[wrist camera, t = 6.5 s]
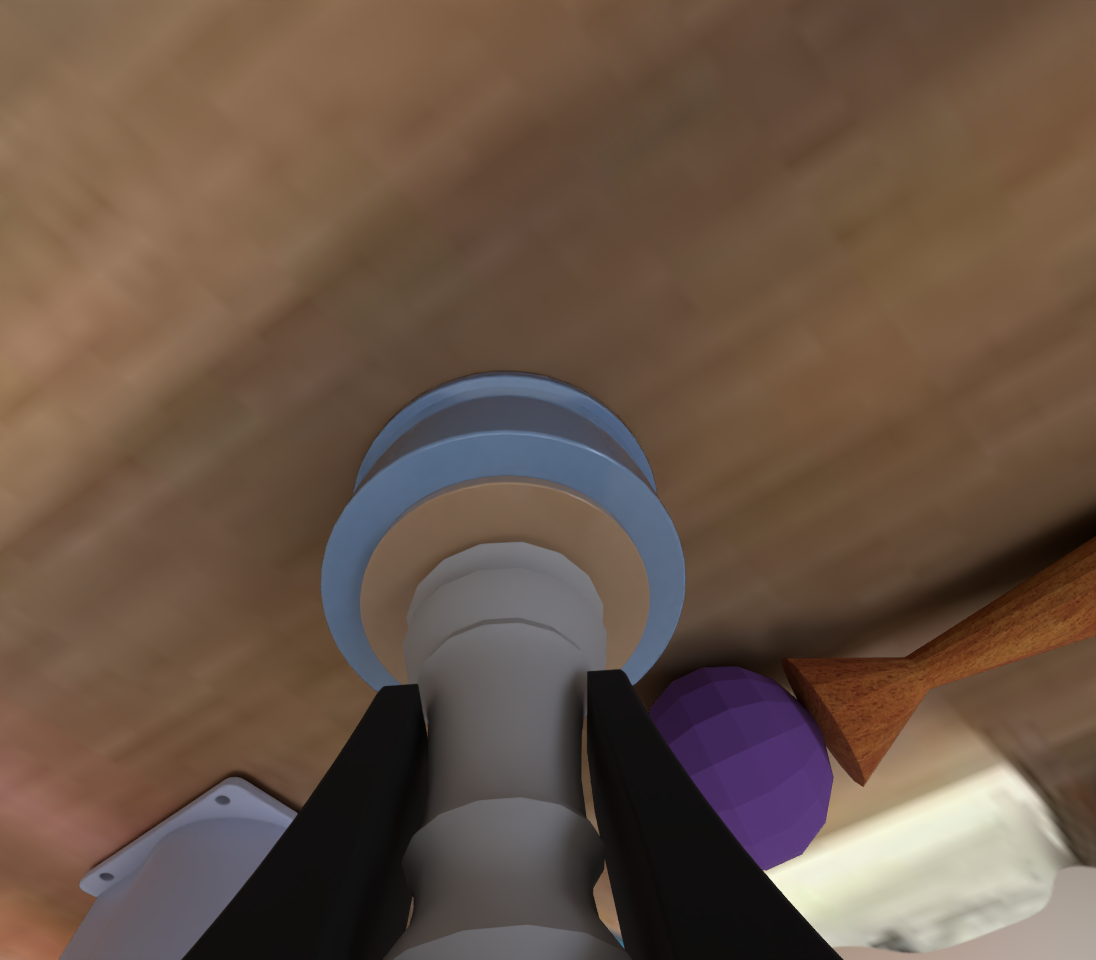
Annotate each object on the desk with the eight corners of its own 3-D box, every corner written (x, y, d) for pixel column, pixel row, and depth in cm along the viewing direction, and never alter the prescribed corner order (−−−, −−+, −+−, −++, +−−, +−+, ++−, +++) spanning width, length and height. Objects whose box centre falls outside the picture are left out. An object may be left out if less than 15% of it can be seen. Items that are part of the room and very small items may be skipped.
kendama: (1307, 658, 16) (712, 926, 17) (1095, 539, 21) (645, 752, 22) (1408, 526, 13) (661, 868, 14) (1128, 421, 18) (595, 678, 19)
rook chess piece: (443, 700, 13) (362, 1251, 6) (382, 554, 11) (162, 1089, 4) (615, 663, 13) (746, 1178, 6) (582, 509, 11) (712, 980, 4)
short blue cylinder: (487, 676, 19) (481, 802, 15) (290, 496, 16) (207, 591, 12) (706, 536, 18) (772, 633, 13) (536, 300, 14) (548, 324, 10)
